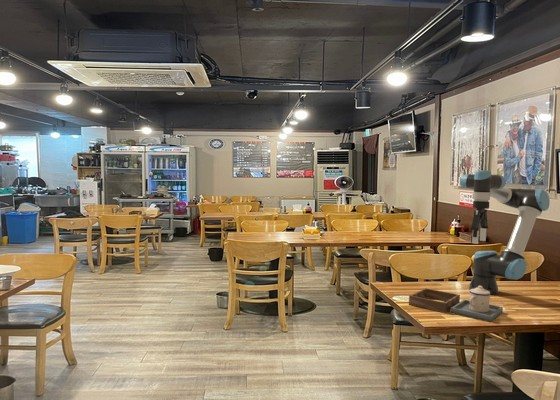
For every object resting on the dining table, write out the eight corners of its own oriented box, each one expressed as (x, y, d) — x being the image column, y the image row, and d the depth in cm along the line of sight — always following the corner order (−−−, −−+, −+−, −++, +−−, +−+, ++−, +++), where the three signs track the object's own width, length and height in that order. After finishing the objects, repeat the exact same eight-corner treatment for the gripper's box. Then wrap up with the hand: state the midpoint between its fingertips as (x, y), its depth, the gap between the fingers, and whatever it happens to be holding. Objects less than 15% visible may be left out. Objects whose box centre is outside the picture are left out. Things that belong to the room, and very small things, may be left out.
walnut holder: (424, 296, 231) (425, 288, 230) (459, 303, 219) (459, 294, 219) (408, 304, 215) (409, 295, 214) (445, 312, 203) (445, 303, 203)
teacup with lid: (475, 306, 212) (477, 282, 211) (493, 311, 204) (494, 287, 204) (461, 309, 206) (462, 285, 205) (478, 314, 198) (479, 290, 197)
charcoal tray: (463, 304, 218) (464, 299, 218) (502, 312, 207) (502, 307, 206) (450, 313, 203) (450, 307, 203) (491, 322, 191) (491, 316, 191)
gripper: (480, 199, 229) (478, 239, 230) (465, 200, 210) (463, 243, 211) (495, 200, 224) (493, 240, 226) (482, 201, 205) (479, 245, 206)
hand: (478, 242), depth 218 cm, fingers open, 13 cm apart
